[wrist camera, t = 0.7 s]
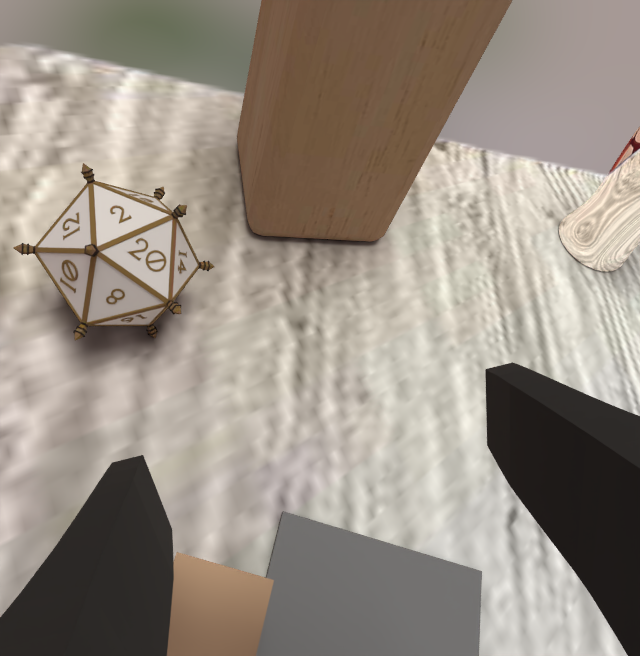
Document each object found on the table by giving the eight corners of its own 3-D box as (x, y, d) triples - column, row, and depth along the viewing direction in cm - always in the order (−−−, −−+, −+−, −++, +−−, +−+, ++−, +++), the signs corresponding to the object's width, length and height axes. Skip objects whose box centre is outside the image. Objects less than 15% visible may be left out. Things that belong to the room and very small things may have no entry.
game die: (154, 321, 36) (267, 241, 32) (88, 406, 29) (222, 317, 25) (47, 213, 33) (156, 108, 29) (-55, 278, 26) (69, 152, 22)
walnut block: (208, 735, 23) (232, 751, 17) (122, 713, 22) (118, 722, 17) (243, 604, 26) (274, 580, 20) (167, 583, 25) (176, 552, 20)
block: (356, 151, 45) (479, -147, 29) (383, 247, 40) (549, -48, 24) (233, 138, 42) (294, -205, 26) (246, 241, 37) (331, -105, 21)
